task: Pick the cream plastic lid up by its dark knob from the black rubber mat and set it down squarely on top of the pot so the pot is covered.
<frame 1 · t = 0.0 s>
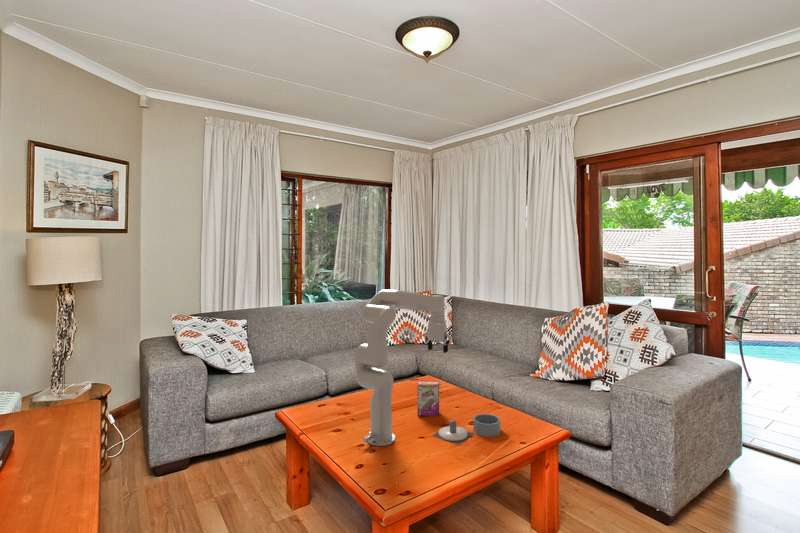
hand: (437, 350, 218), 31 cm above the table, tool pointing down, fingers open, 9 cm apart
candy bar box: (428, 415, 212), on the table
lid: (453, 434, 188), point 1 cm above the table, touching mat
mat: (453, 435, 188), on the table
pot: (486, 431, 191), on the table
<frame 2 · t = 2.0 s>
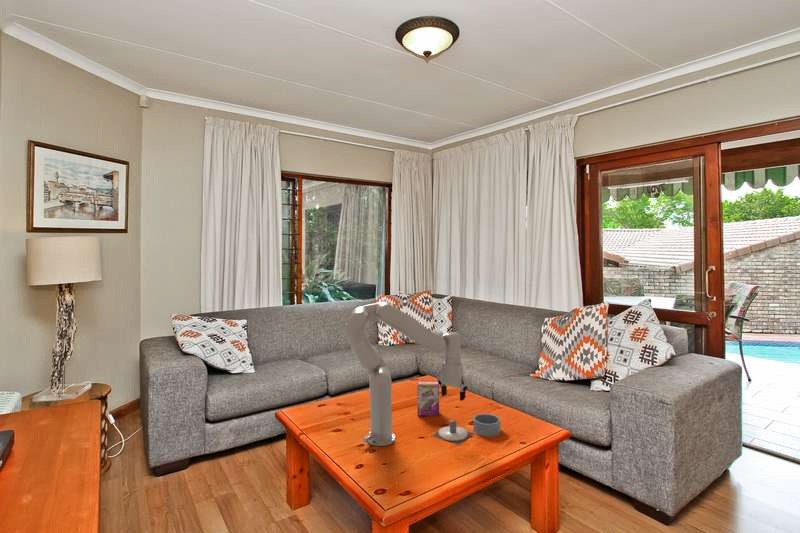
hand: (453, 397, 187), 18 cm above the table, tool pointing down, fingers open, 9 cm apart
nothing on the table moved.
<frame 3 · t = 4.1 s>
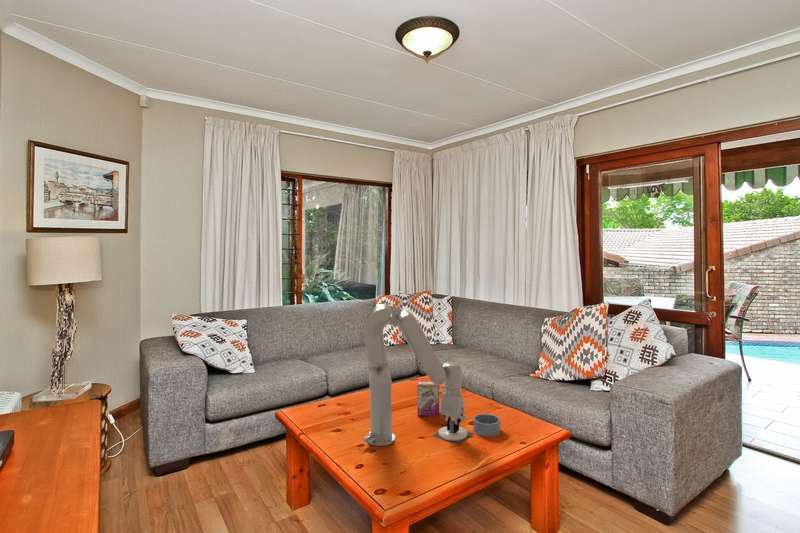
hand: (452, 430, 187), 3 cm above the table, tool pointing down, fingers closed on lid, 3 cm apart
lid: (452, 434, 188), point 1 cm above the table, touching gripper
everything else where it was.
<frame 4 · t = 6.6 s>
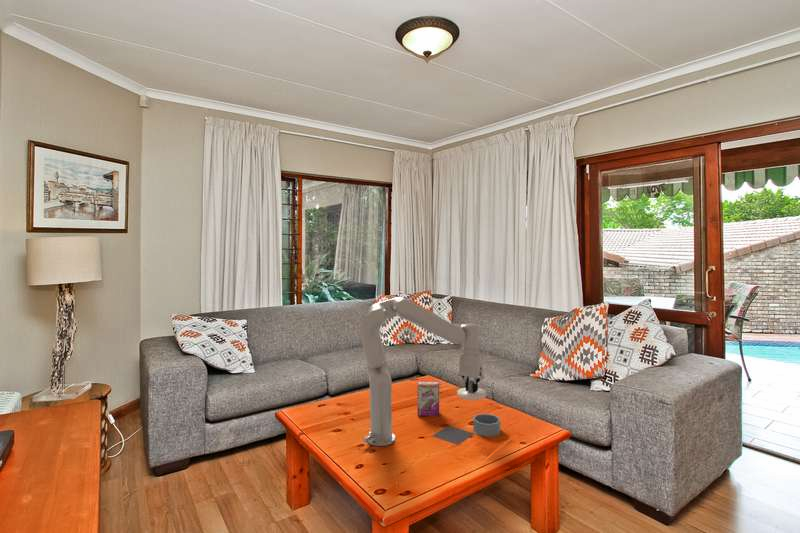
hand: (471, 390, 189), 20 cm above the table, tool pointing down, fingers closed on lid, 3 cm apart
lid: (471, 394, 189), point 18 cm above the table, touching gripper
everything else where it was.
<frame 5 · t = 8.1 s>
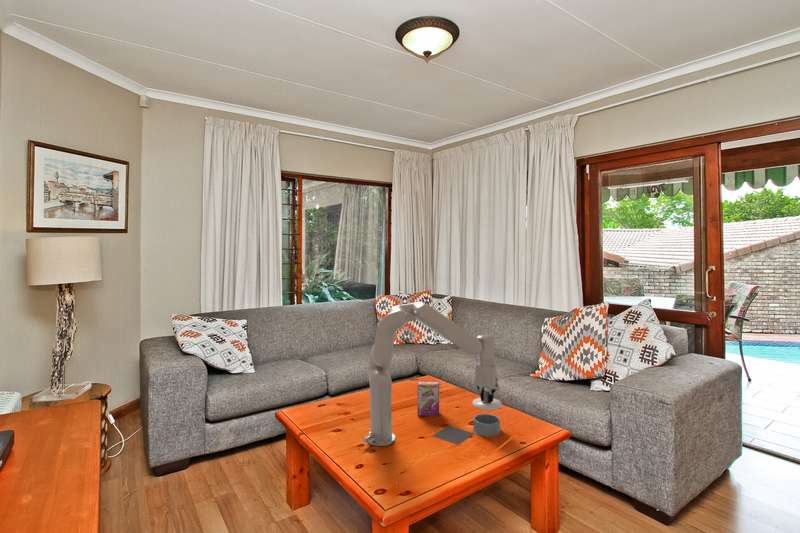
hand: (486, 401, 191), 14 cm above the table, tool pointing down, fingers closed on lid, 3 cm apart
lid: (486, 404, 191), point 13 cm above the table, touching gripper
everything else where it was.
when the fingers open (9 cm above the table, at t = 9.2 s): lid drops 1 cm, resting on pot.
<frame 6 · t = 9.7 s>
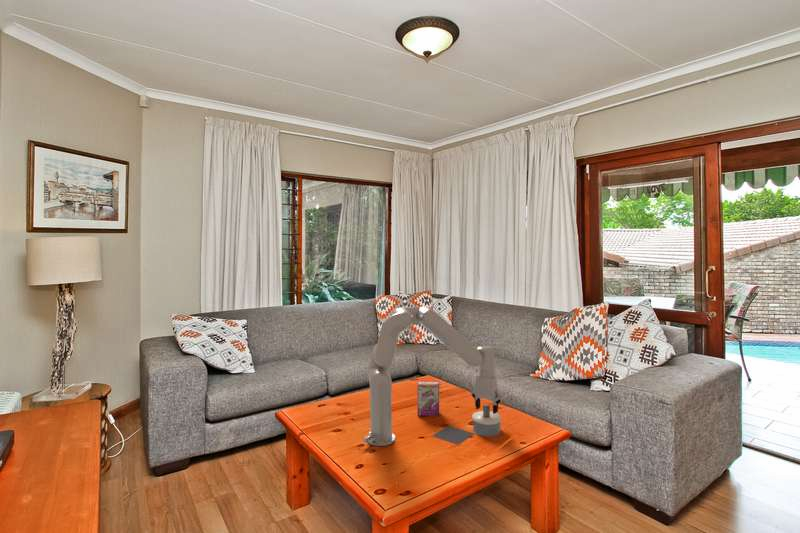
hand: (486, 410, 191), 10 cm above the table, tool pointing down, fingers open, 8 cm apart
lid: (486, 419, 191), point 6 cm above the table, touching pot
everything else where it was.
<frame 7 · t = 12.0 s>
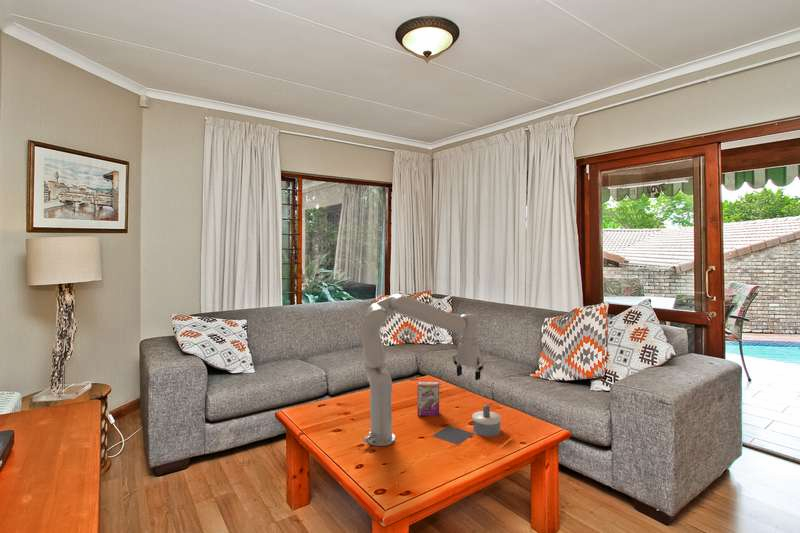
hand: (468, 377, 192), 25 cm above the table, tool pointing down, fingers open, 9 cm apart
nothing on the table moved.
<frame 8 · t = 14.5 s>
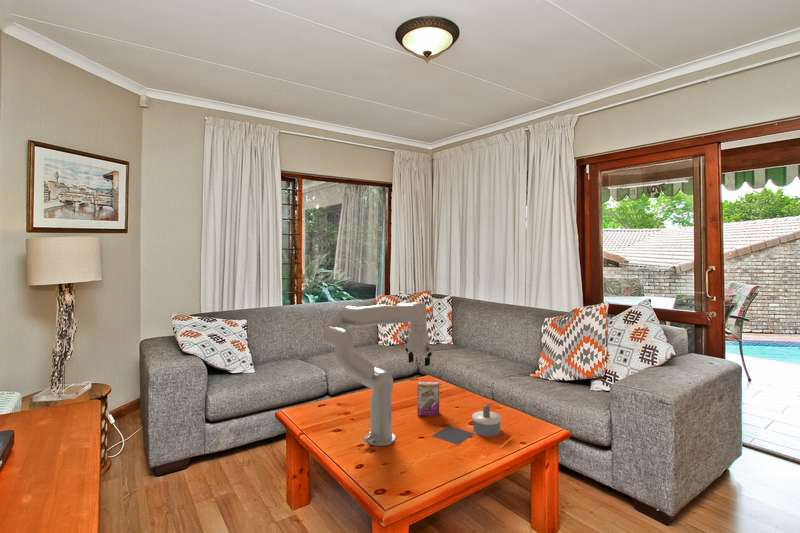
hand: (419, 363, 197), 30 cm above the table, tool pointing down, fingers open, 9 cm apart
nothing on the table moved.
at the end: lid 0.0 cm off-centre on the pot, point 6.0 cm above the pot's base; lid tilted 0°; the gripper is holding nothing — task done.
